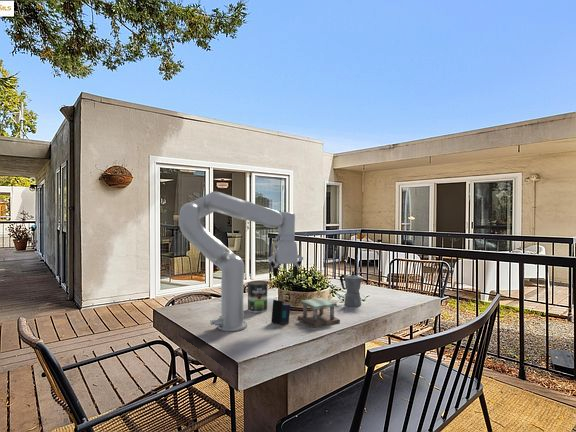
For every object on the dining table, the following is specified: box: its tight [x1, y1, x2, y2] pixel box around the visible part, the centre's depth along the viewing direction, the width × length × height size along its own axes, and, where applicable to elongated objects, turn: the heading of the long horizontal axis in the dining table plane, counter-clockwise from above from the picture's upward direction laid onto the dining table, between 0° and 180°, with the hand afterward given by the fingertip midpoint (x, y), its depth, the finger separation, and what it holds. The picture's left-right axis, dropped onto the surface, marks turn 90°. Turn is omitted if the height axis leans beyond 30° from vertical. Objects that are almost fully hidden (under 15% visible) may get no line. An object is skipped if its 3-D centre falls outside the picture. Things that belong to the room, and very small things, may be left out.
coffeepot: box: [339, 271, 364, 308], centre depth 188 cm, size 15×9×18 cm, turn 44°
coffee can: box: [247, 280, 269, 314], centre depth 177 cm, size 10×10×14 cm
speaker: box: [270, 299, 291, 326], centre depth 156 cm, size 8×6×10 cm
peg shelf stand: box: [297, 297, 341, 328], centre depth 158 cm, size 14×14×9 cm
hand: (285, 275), depth 158 cm, fingers open, 9 cm apart
